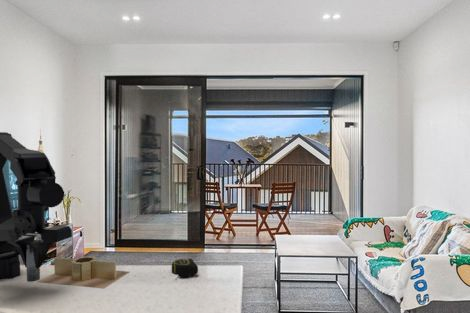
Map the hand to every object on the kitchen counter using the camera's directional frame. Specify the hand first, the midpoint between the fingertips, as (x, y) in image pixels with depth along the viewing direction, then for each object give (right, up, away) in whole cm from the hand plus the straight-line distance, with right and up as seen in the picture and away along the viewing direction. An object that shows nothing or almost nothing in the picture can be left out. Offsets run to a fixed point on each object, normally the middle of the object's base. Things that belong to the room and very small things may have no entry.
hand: (33, 267), depth 88 cm
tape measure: (+36, -6, +12) cm, 38 cm away
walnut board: (+9, -6, +8) cm, 14 cm away
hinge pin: (0, -3, 0) cm, 3 cm away
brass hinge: (+9, -5, +8) cm, 13 cm away
